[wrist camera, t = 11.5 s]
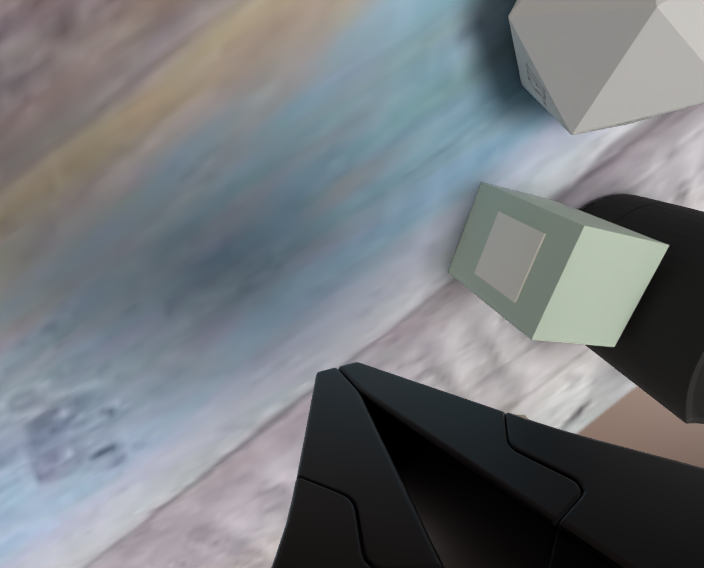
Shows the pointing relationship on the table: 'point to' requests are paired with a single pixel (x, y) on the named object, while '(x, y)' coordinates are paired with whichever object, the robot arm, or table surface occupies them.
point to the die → (610, 58)
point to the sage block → (553, 266)
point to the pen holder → (664, 306)
